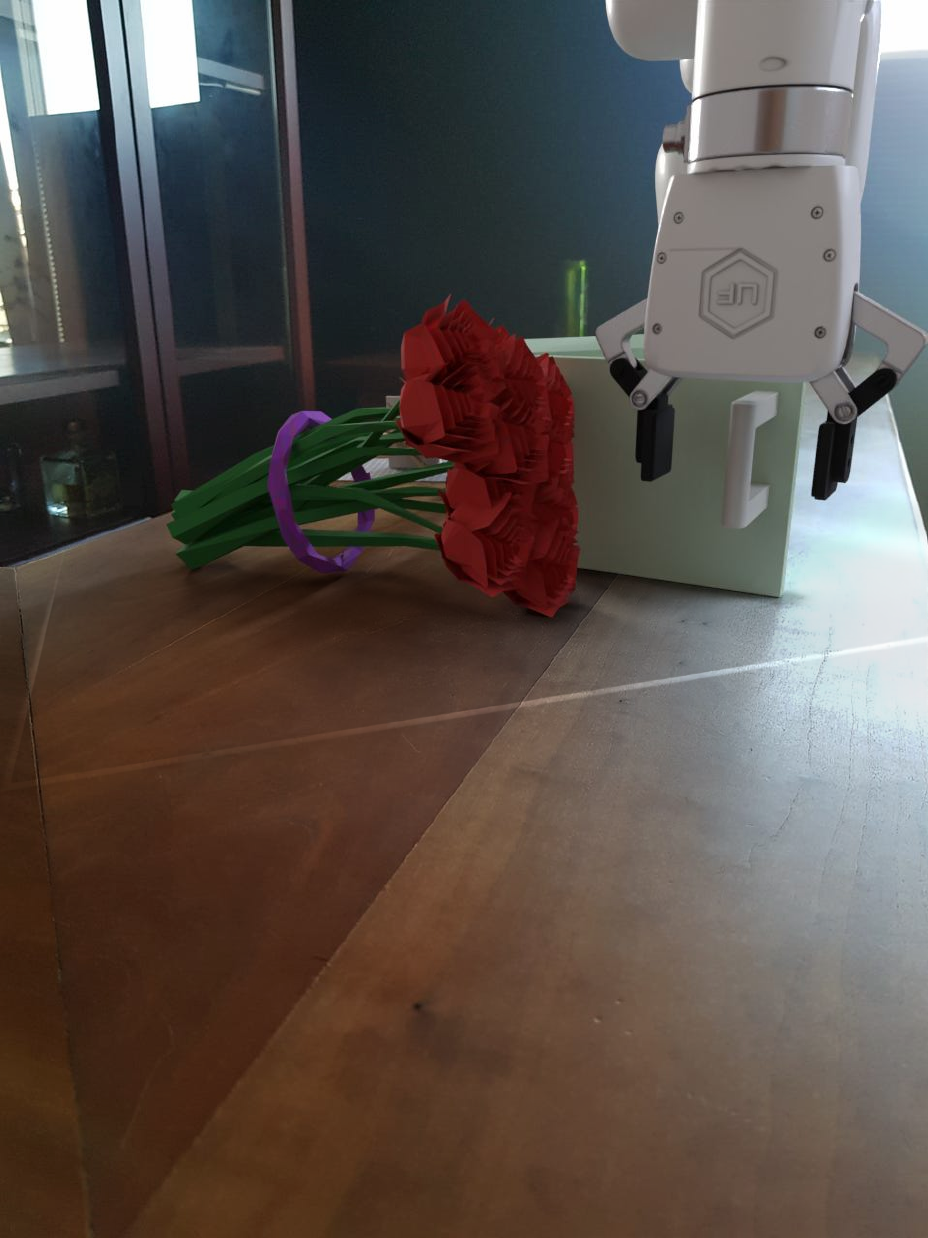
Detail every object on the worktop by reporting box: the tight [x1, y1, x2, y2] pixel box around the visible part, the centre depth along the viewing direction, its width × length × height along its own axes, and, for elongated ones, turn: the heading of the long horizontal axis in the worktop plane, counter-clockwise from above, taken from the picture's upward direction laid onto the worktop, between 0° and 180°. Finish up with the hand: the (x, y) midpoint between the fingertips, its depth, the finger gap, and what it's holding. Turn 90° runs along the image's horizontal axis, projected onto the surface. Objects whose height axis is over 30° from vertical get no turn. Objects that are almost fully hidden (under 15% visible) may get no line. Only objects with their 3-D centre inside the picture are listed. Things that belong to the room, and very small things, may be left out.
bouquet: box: [166, 292, 580, 618], centre depth 62 cm, size 20×16×30 cm
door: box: [535, 355, 808, 598], centre depth 59 cm, size 7×18×14 cm, turn 60°
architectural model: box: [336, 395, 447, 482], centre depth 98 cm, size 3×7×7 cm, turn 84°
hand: (736, 485), depth 53 cm, fingers open, 9 cm apart
